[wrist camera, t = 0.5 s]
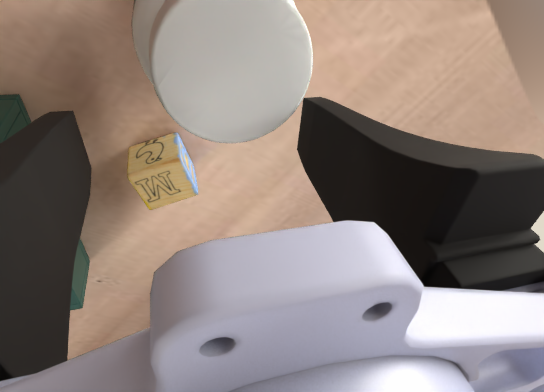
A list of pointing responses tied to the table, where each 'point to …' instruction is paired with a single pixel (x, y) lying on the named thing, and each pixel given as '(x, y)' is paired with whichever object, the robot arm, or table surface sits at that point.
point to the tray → (3, 124)
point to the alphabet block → (161, 171)
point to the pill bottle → (224, 63)
